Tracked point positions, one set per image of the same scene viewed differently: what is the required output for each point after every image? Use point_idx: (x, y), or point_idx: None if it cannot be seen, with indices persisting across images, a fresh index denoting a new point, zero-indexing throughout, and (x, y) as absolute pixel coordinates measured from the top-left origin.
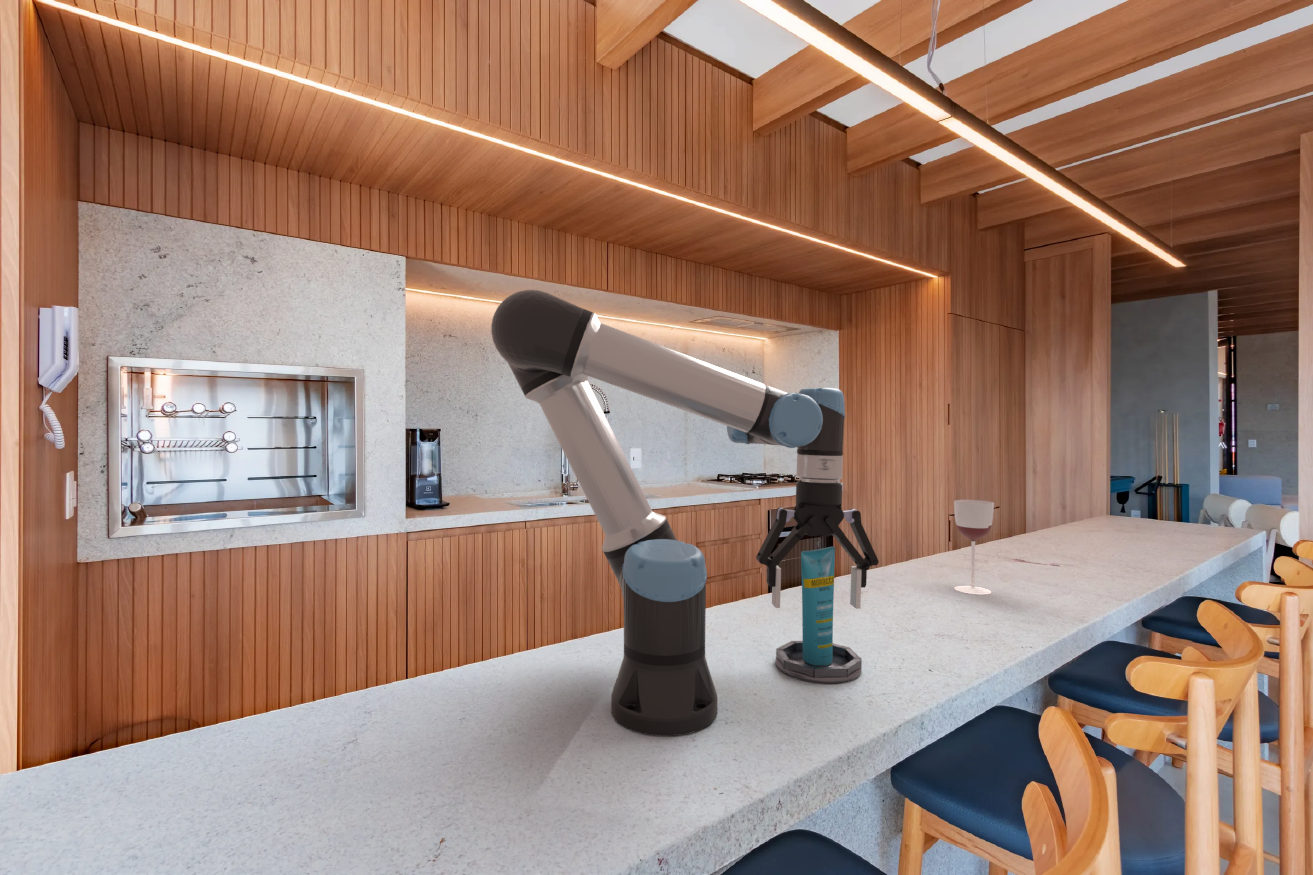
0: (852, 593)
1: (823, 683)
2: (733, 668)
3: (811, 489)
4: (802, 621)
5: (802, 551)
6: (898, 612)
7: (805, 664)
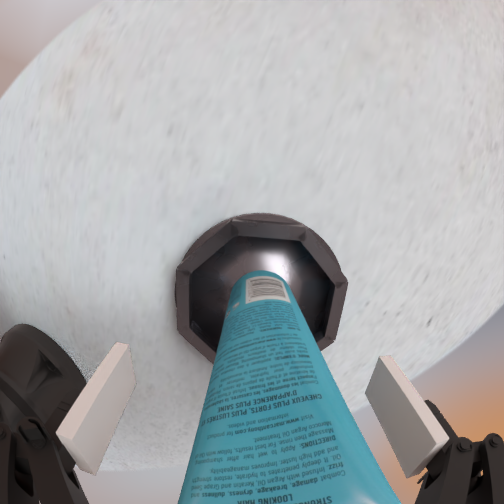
0: (388, 393)
1: None
2: (103, 280)
3: None
4: (219, 341)
5: None
6: (496, 69)
7: (213, 353)
